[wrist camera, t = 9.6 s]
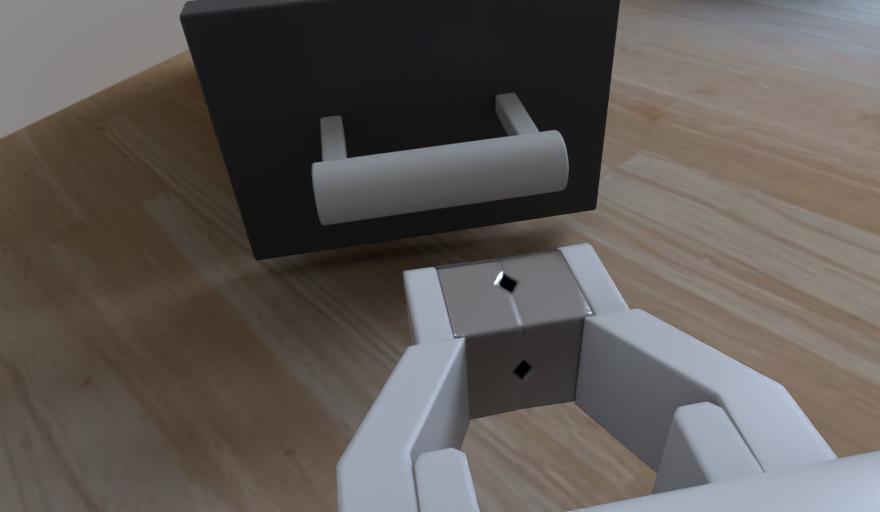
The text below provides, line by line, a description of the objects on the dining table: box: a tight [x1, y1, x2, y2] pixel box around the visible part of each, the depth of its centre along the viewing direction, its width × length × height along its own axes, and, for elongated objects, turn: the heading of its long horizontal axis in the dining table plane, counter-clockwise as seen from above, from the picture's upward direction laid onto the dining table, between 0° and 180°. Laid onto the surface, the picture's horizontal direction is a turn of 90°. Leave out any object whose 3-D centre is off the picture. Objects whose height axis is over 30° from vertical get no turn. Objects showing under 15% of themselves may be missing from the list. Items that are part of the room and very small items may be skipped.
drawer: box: [180, 0, 620, 260], centre depth 22 cm, size 18×11×8 cm, turn 10°
